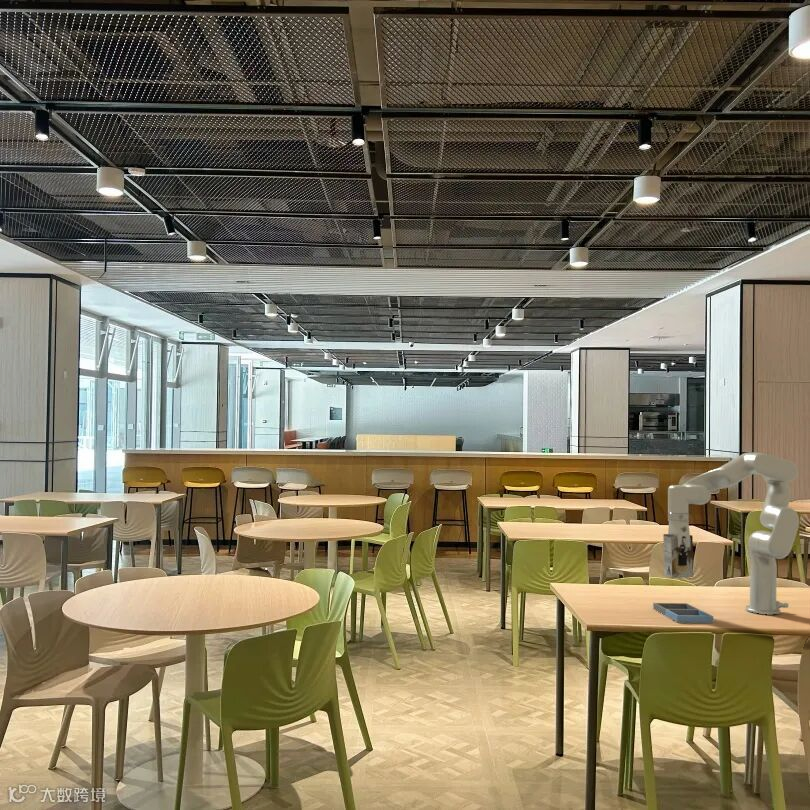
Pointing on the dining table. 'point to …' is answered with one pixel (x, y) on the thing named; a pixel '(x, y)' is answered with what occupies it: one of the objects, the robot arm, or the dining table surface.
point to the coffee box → (676, 558)
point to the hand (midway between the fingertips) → (678, 563)
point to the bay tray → (683, 613)
